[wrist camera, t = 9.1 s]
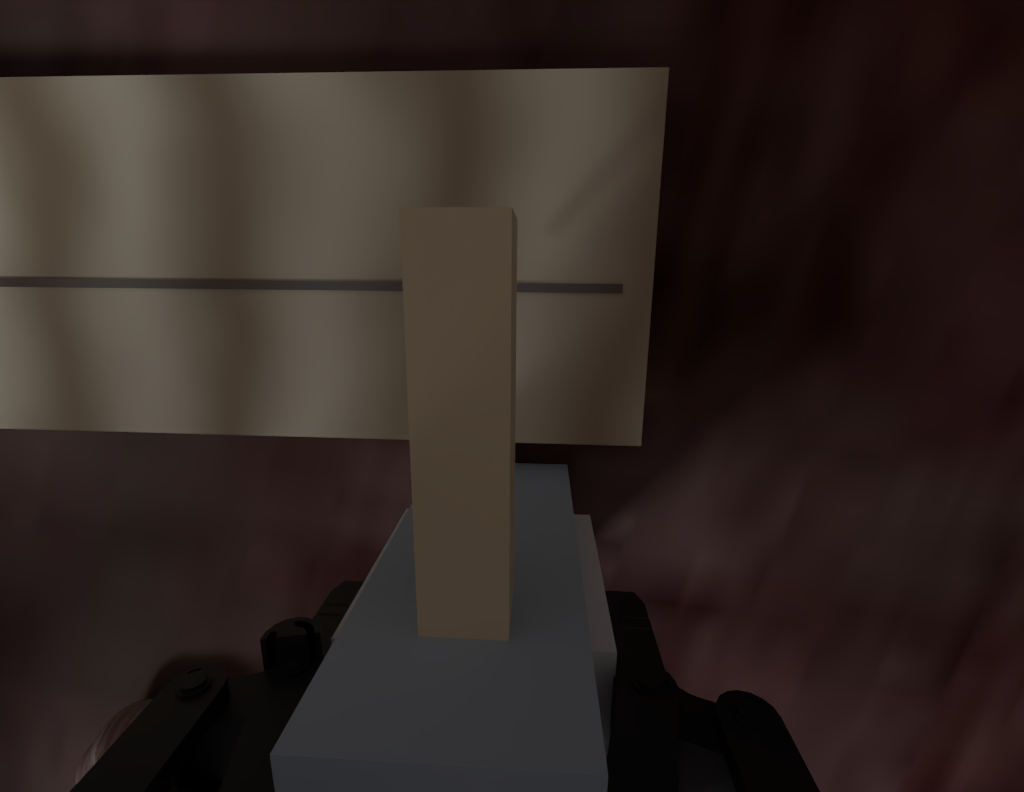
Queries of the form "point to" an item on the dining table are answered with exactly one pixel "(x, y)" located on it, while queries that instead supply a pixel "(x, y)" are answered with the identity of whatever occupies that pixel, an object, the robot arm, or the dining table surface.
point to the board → (315, 245)
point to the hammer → (460, 568)
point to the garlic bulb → (109, 735)
